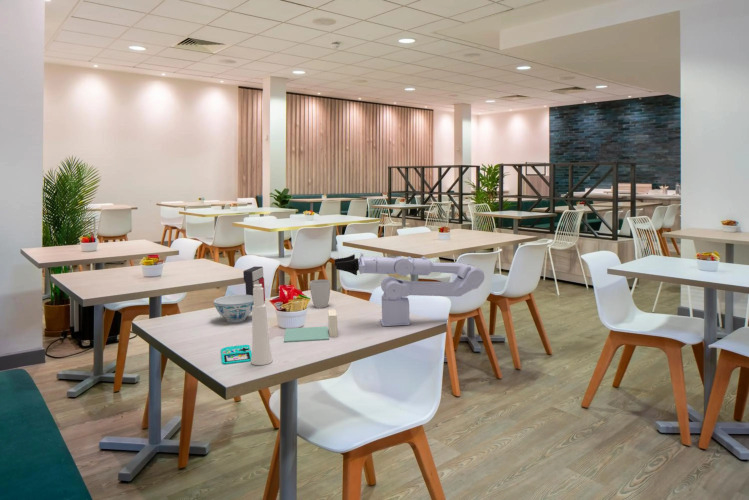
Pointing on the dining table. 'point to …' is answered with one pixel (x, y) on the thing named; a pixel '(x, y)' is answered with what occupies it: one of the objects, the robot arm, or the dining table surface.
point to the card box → (332, 323)
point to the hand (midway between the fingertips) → (335, 264)
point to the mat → (306, 334)
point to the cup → (320, 292)
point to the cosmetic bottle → (260, 329)
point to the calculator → (253, 279)
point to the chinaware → (234, 307)
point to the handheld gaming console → (236, 354)
